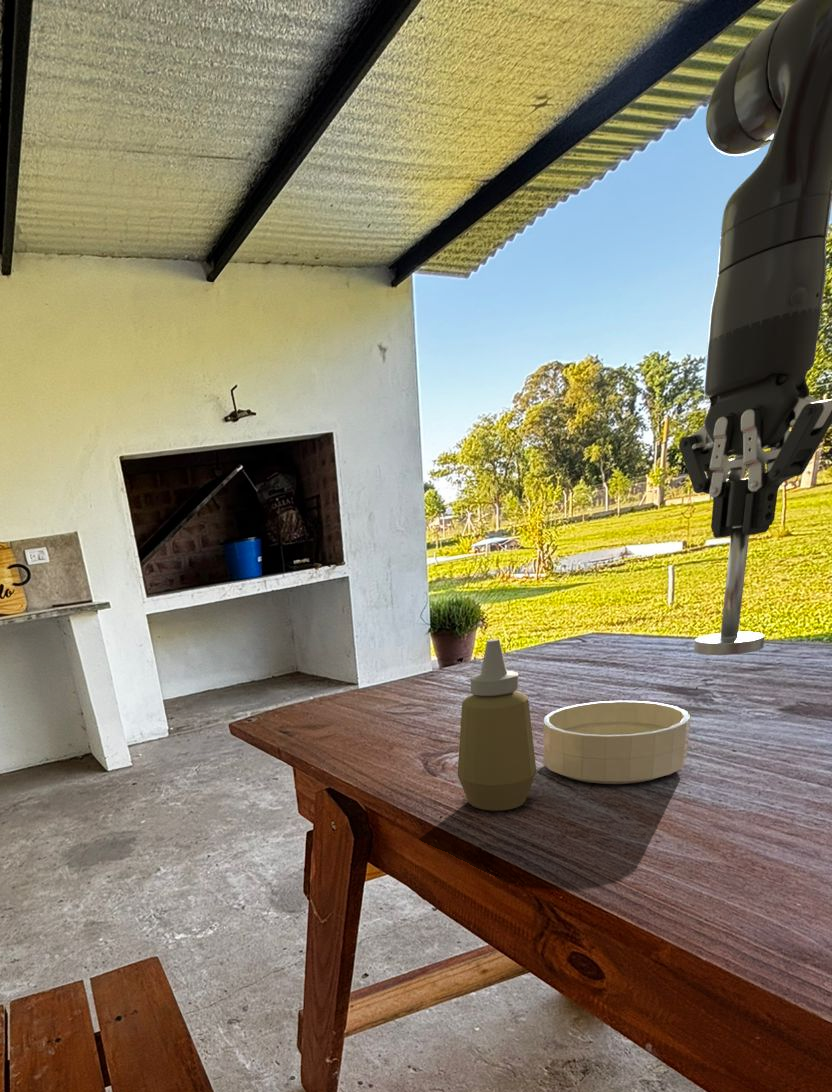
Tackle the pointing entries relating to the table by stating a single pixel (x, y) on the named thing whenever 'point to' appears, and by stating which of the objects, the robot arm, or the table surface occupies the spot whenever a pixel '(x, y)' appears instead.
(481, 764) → the squeeze bottle
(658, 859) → the table surface
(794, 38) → the robot arm
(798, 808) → the table surface
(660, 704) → the bowl
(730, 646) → the rod on round base
